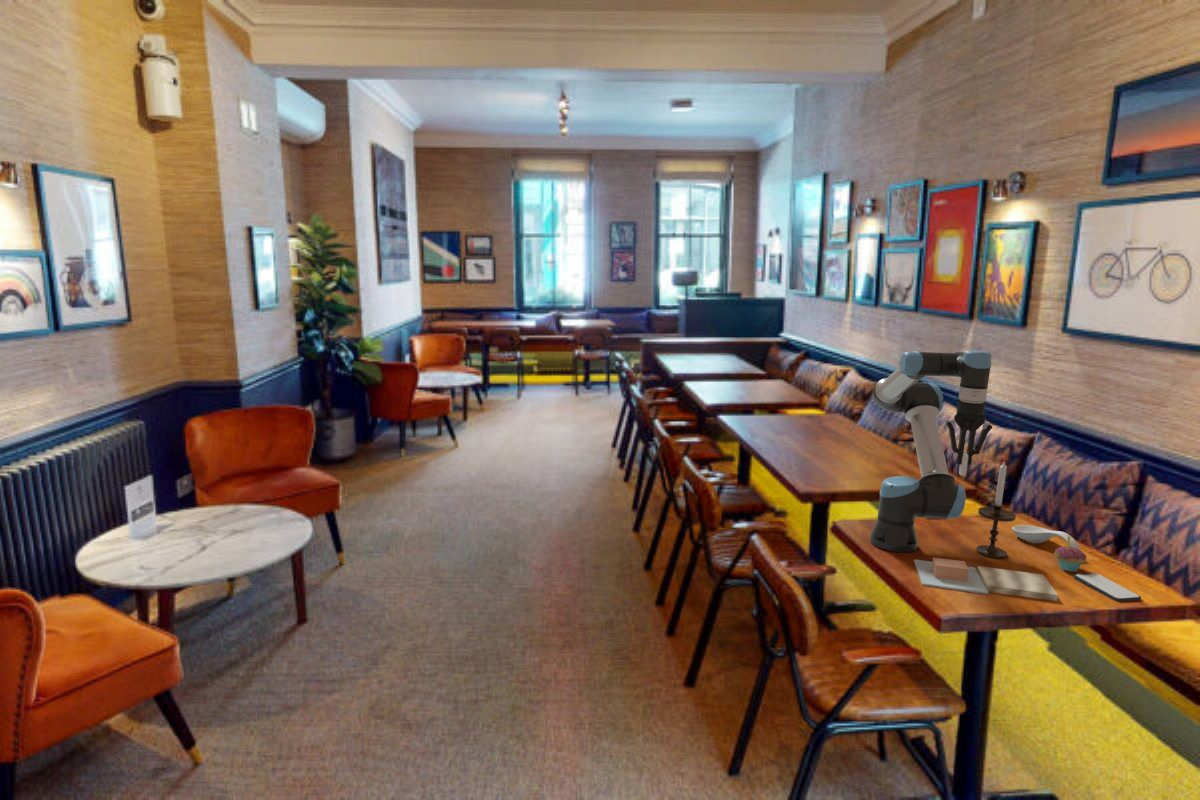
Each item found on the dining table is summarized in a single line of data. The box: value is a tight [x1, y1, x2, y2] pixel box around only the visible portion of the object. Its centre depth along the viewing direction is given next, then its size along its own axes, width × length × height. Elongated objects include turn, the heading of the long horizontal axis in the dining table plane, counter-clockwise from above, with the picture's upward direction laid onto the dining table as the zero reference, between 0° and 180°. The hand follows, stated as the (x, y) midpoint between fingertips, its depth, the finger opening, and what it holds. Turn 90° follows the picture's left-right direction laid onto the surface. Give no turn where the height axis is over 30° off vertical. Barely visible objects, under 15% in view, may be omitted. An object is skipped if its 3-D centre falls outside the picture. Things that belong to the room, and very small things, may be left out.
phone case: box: [1073, 572, 1142, 603], centre depth 206 cm, size 9×2×16 cm
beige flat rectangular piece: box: [976, 565, 1059, 602], centre depth 206 cm, size 18×14×2 cm
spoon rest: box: [1011, 524, 1081, 550], centre depth 237 cm, size 24×12×7 cm, turn 16°
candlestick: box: [975, 452, 1017, 560], centre depth 227 cm, size 11×11×35 cm
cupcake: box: [1054, 533, 1087, 572], centre depth 218 cm, size 9×8×12 cm
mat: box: [913, 559, 989, 595], centre depth 212 cm, size 18×18×1 cm
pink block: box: [931, 556, 969, 582], centre depth 211 cm, size 9×6×4 cm, turn 74°
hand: (962, 474), depth 215 cm, fingers closed
